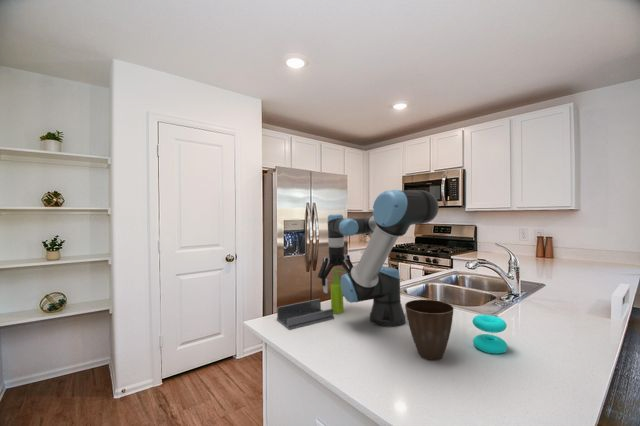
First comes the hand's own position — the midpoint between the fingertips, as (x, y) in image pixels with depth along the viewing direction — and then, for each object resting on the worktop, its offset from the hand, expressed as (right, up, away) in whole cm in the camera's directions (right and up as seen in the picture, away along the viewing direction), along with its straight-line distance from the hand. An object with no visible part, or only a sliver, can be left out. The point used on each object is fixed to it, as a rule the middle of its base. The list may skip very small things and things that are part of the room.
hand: (337, 290), depth 142 cm
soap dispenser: (0, -10, 0) cm, 10 cm away
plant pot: (+28, -9, -46) cm, 54 cm away
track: (-15, -11, -9) cm, 21 cm away
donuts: (+49, -9, -43) cm, 66 cm away
